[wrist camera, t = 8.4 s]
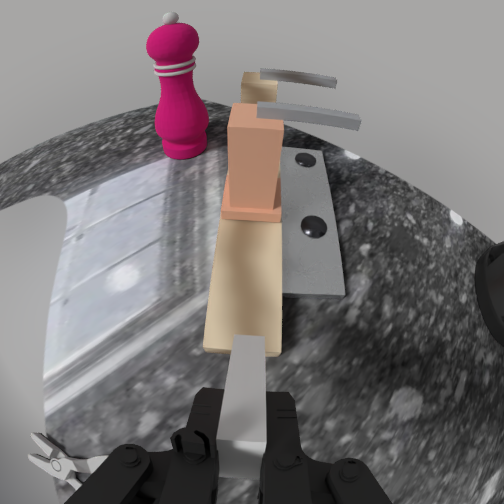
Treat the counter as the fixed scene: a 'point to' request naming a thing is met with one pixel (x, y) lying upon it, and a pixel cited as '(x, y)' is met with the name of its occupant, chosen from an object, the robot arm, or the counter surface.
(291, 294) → the hole plate
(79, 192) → the counter surface
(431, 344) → the counter surface
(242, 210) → the slide leg
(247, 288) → the rail
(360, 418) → the counter surface
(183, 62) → the pepper mill
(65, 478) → the pliers
